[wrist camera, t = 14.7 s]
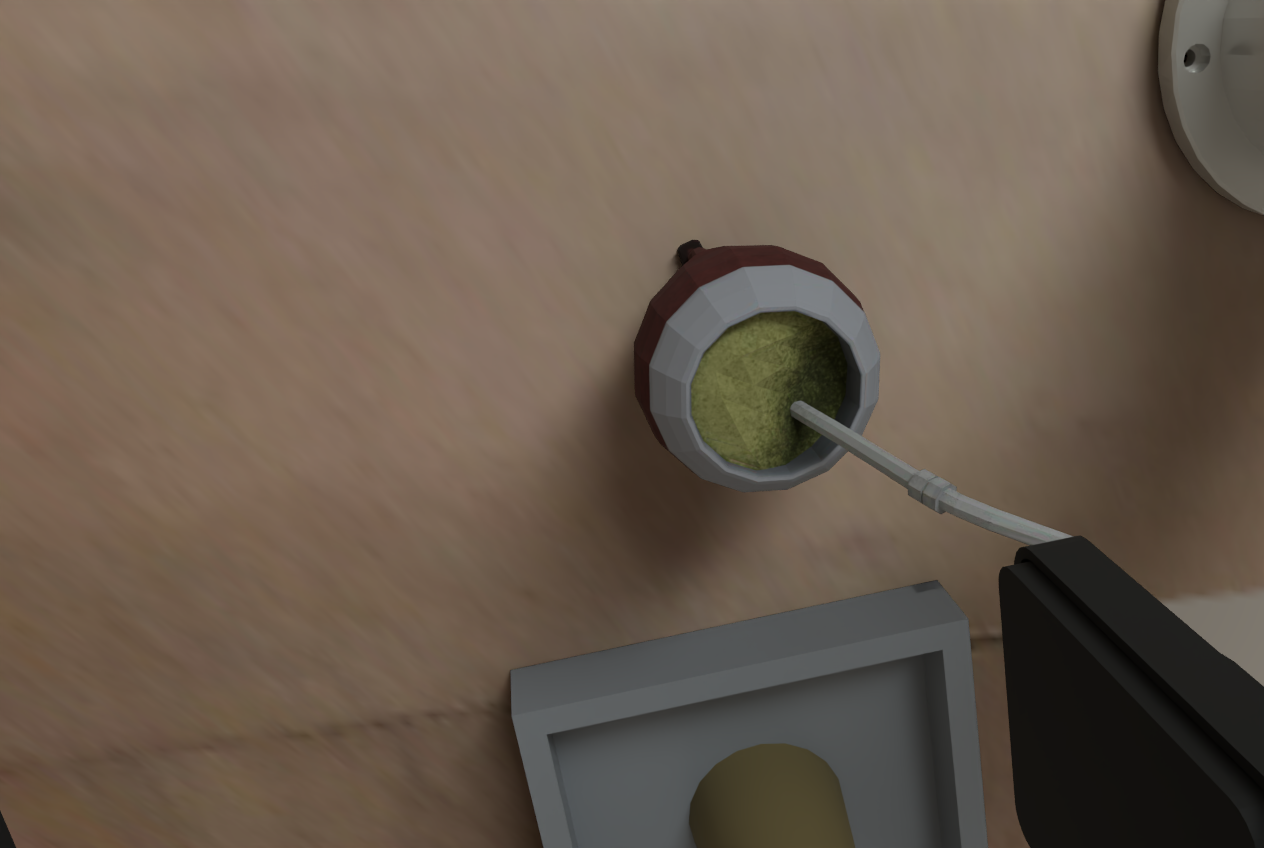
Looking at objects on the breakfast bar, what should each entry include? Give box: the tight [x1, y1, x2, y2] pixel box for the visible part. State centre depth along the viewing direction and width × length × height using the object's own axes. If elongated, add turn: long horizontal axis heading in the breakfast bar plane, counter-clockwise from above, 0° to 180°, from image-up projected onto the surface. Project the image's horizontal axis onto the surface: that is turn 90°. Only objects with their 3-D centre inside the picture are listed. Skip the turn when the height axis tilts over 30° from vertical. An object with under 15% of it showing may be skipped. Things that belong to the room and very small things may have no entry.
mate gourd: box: [634, 240, 1073, 546], centre depth 32 cm, size 8×8×15 cm
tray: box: [511, 580, 988, 848], centre depth 44 cm, size 16×16×3 cm
